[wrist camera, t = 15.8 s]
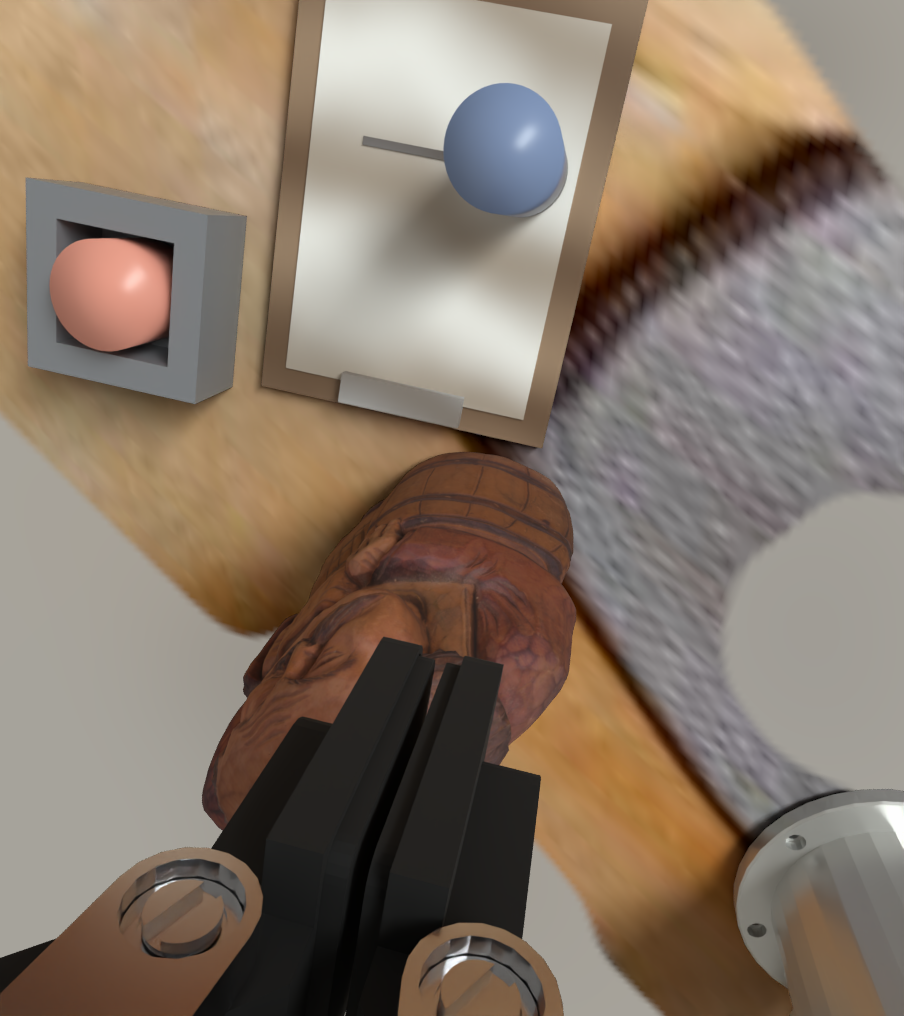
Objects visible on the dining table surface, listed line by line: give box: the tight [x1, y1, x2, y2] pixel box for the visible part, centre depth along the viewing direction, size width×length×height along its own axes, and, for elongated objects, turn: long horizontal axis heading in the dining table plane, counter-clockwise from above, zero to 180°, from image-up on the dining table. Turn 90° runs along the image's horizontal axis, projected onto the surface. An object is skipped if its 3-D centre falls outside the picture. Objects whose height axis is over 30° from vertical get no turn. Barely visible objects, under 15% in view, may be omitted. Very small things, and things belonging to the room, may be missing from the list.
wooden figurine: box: [202, 452, 576, 830], centre depth 26 cm, size 12×6×18 cm, turn 133°
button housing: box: [26, 178, 247, 404], centre depth 31 cm, size 7×7×4 cm
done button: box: [49, 237, 174, 351], centre depth 30 cm, size 4×4×4 cm
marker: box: [443, 83, 568, 218], centre depth 25 cm, size 3×3×8 cm
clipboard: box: [261, 0, 648, 448], centre depth 30 cm, size 16×12×1 cm
